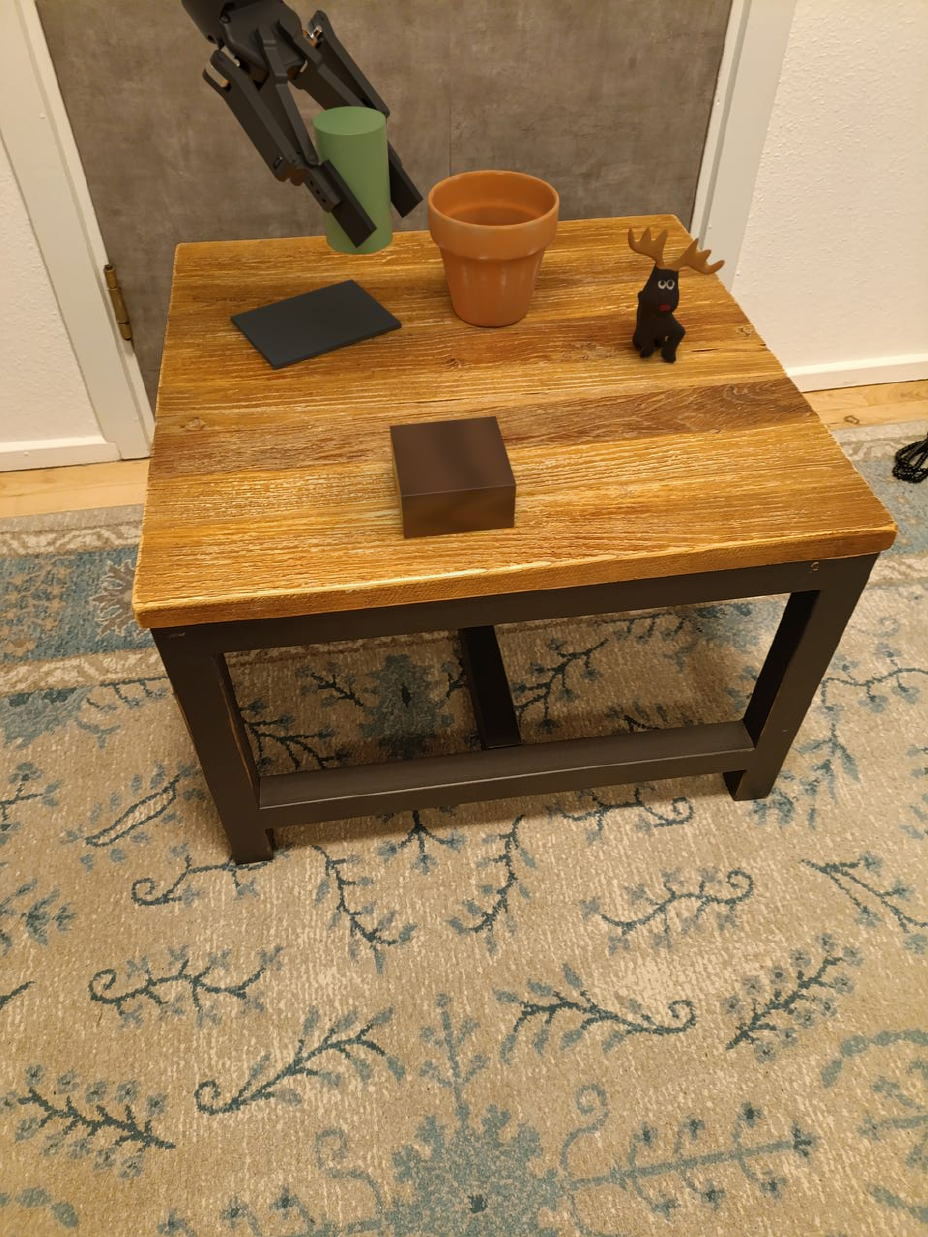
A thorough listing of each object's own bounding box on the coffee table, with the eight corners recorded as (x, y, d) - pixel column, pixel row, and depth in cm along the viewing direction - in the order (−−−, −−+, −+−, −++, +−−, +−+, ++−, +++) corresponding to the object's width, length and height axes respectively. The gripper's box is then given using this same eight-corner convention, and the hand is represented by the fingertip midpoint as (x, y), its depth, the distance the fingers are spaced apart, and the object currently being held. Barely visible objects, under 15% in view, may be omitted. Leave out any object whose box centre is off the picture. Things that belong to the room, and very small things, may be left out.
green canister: (345, 261, 78) (333, 139, 71) (315, 233, 81) (300, 115, 74) (405, 243, 80) (399, 123, 73) (373, 217, 84) (364, 100, 76)
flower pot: (430, 278, 110) (427, 169, 100) (545, 277, 110) (553, 167, 101) (430, 341, 101) (427, 227, 91) (555, 339, 101) (565, 226, 91)
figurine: (612, 371, 97) (631, 236, 86) (604, 336, 102) (622, 203, 90) (709, 371, 97) (741, 236, 86) (697, 335, 102) (726, 202, 90)
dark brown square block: (404, 538, 80) (401, 496, 76) (392, 468, 86) (389, 425, 82) (514, 527, 81) (516, 484, 77) (494, 457, 87) (495, 415, 83)
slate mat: (274, 370, 97) (273, 365, 97) (230, 320, 104) (229, 316, 103) (401, 327, 103) (401, 322, 102) (352, 283, 109) (352, 278, 109)
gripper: (273, -25, 80) (429, 205, 86) (109, 31, 69) (299, 289, 75) (311, -93, 74) (475, 160, 80) (138, -42, 63) (342, 244, 70)
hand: (390, 222), depth 78 cm, fingers closed on green canister, 6 cm apart
